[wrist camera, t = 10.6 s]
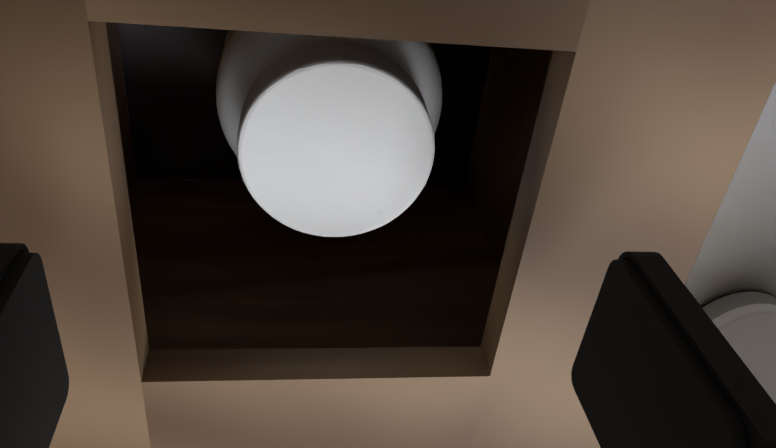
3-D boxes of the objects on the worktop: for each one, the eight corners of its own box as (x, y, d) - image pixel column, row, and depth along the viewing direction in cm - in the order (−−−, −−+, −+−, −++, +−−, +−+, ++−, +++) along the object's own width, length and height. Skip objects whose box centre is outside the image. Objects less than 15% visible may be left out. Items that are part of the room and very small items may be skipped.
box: (44, -279, 19) (-344, -360, 7) (573, -211, 21) (898, -194, 10) (114, 198, 28) (-13, 499, 16) (483, 206, 30) (600, 473, 19)
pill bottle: (398, 96, 27) (452, 262, 18) (242, 94, 26) (213, 267, 17) (411, -70, 23) (485, 31, 14) (230, -78, 22) (186, 23, 13)
